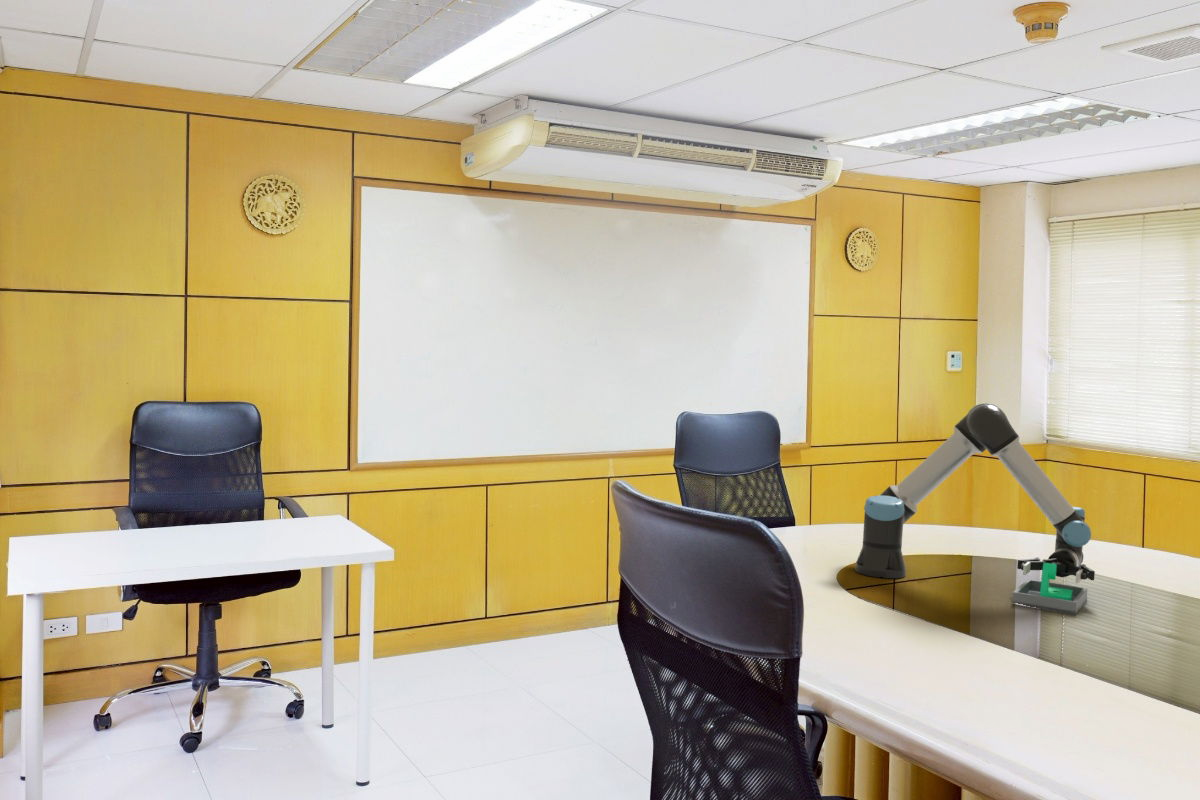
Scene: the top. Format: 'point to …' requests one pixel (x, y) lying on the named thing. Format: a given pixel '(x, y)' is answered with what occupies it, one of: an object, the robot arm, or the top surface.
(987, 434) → the robot arm
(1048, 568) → the camera mount
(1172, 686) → the top surface
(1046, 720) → the top surface
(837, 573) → the top surface
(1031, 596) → the tray
